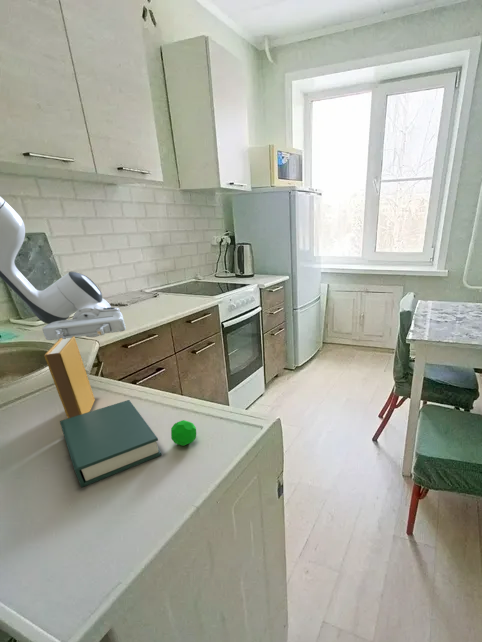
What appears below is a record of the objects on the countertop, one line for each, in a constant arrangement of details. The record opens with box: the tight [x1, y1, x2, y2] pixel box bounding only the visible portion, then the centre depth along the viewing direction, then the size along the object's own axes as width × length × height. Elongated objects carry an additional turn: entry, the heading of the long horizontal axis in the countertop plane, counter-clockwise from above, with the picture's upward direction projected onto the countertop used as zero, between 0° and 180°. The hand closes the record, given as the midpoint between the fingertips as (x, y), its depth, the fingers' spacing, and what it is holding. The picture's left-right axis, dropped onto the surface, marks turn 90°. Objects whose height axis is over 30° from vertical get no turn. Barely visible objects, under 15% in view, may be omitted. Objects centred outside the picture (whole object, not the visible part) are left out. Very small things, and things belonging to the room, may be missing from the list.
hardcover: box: [59, 399, 162, 488], centre depth 71 cm, size 20×14×4 cm
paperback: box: [43, 336, 96, 419], centre depth 81 cm, size 12×3×17 cm, turn 17°
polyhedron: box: [170, 419, 197, 447], centre depth 70 cm, size 5×5×5 cm
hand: (80, 335), depth 92 cm, fingers open, 8 cm apart
